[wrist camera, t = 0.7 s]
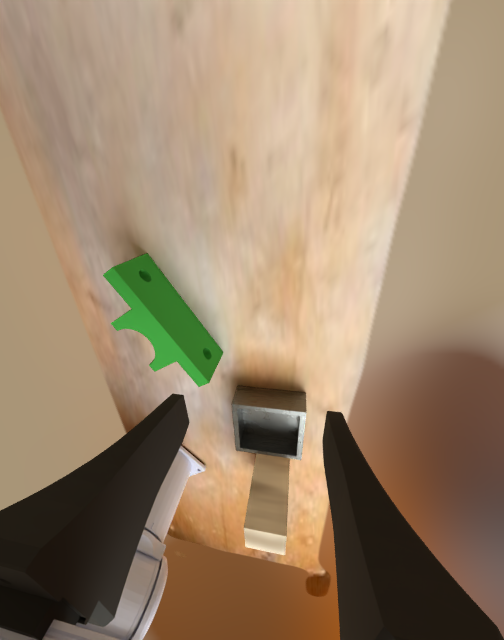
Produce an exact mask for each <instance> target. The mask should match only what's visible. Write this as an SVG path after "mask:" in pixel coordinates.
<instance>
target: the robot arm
mask: <svg viewBox="0 0 504 640" xmlns="http://www.w3.org/2000/svg"><path fill="white" fill-rule="evenodd" d="M188 425H189V418H188V414H187V409H186V405H185V400H184V395H179V394H172V395H171V396H170V397H168V398H167V399H166V400H165V401H164V402H163V403H162V404H160V405H159V406H158V407H157V408H156V409H155V410H154V411H153V412H152V413H150V414H149V415H148V416H147V417H146V418H145V419H144V420H142V421H141V422H140V423H139V424H138V425H137V426H135V427H134V428H133V429H132V430H131V431H129V432H128V433H127V434H126V435H124V436H123V437H122V438H121V439H119V440H118V441H117V442H116V443H114V444H113V445H112V446H110V447H109V448H108V449H106V450H105V451H104V452H102V453H100V454H99V455H98V456H96V457H95V458H93V459H92V460H90V461H89V462H87V463H86V464H84V465H82V466H81V467H79V468H78V469H76V470H74V471H73V472H71V473H70V474H68V475H66V476H65V477H63V478H62V479H60V480H58V481H56V482H54V483H53V484H51V485H49V486H47V487H46V488H44V489H42V490H40V491H38V492H37V493H34V494H33V495H31V496H29V497H27V498H25V499H23V500H21V501H19V502H17V503H15V504H13V505H11V506H9V507H7V508H5V509H3V510H1V511H0V640H143V638H144V636H145V634H146V632H147V630H148V628H149V626H150V624H151V622H152V620H153V617H154V615H155V613H156V610H157V608H158V605H159V602H160V599H161V597H162V593H163V590H164V587H165V583H166V579H167V574H168V567H167V559H166V557H165V556H163V553H164V550H165V548H166V545H164V544H163V542H164V539H165V537H166V534H167V532H168V529H169V526H170V524H171V521H172V519H173V516H174V514H175V511H176V508H177V506H178V503H179V501H180V498H181V496H182V493H183V491H184V488H185V485H186V483H187V480H188V478H189V476H192V475H194V474H197V473H200V472H203V471H205V469H206V467H205V465H203V464H202V463H201V462H200V461H199V460H197V459H196V458H195V457H194V456H193V455H191V454H190V453H189V452H188V451H187V450H186V449H184V448H183V447H182V446H181V444H182V442H183V439H184V437H185V434H186V431H187V428H188ZM323 458H324V468H325V475H326V481H327V488H328V494H329V501H330V508H331V514H332V521H333V530H334V543H335V557H336V572H337V586H338V587H337V588H338V604H339V622H340V640H504V639H503V637H502V635H501V633H500V631H499V629H498V627H497V626H496V625H495V624H494V623H493V622H492V620H491V619H490V618H489V617H488V616H487V615H486V614H485V613H484V612H483V611H482V610H481V609H480V607H478V605H477V604H476V603H475V602H474V601H473V600H472V599H471V598H470V596H469V595H468V594H467V593H466V592H465V591H464V590H463V589H462V587H461V586H460V585H459V584H458V583H457V582H456V581H455V580H454V578H453V577H452V576H451V575H450V574H449V573H448V571H447V570H446V569H445V568H444V567H443V566H442V564H441V563H440V562H439V561H438V560H437V559H436V557H435V556H434V555H433V554H432V552H431V551H430V550H429V549H428V547H427V546H426V545H425V544H424V542H423V541H422V540H421V539H420V537H419V536H418V535H417V534H416V532H415V531H414V530H413V529H412V527H411V526H410V525H409V523H408V522H407V521H406V519H405V518H404V517H403V516H402V514H401V513H400V511H399V510H398V509H397V507H396V506H395V504H394V503H393V502H392V500H391V499H390V497H389V496H388V495H387V493H386V492H385V490H384V488H383V487H382V485H381V484H380V482H379V481H378V479H377V478H376V476H375V474H374V473H373V471H372V470H371V468H370V466H369V465H368V463H367V461H366V459H365V458H364V456H363V454H362V452H361V451H360V449H359V447H358V445H357V443H356V442H355V440H354V438H353V436H352V434H351V432H350V430H349V427H348V425H347V423H346V421H345V419H344V416H343V414H342V413H341V412H332V411H327V415H326V421H325V428H324V434H323Z"/></svg>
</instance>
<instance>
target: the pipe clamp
mask: <svg viewBox="0 0 504 640" xmlns="http://www.w3.org/2000/svg"><path fill="white" fill-rule="evenodd" d="M103 276H104V277H105V278H106V279H107V281H108V282H109V283H110V284H111V285H112V286H113V288H114V289H115V290H116V291H117V292H118V293H119V295H120V296H121V297H122V298H123V299H124V300H125V302H126V303H127V304H128V305H129V306H130V307H131V310H129V311H128V312H127V313H125V314H124V315H122V316H121V317H119V318H118V319H116V320H115V321H114V322H112V323H111V324H112V325H113V327H114V328H115V329H116V330H117V331H118V330H121V329H132V330H135V331H138V332H140V333H141V334H143V335H144V336H145V337H147V338H148V339H149V341H150V342H151V343H152V345H153V347H154V350H155V359H154V360H153V361H152V362H151V363H150V365H149V366H150V367H151V368H152V369H153V370H154V371H157V370H159V369H161V368H163V367H165V366H167V365H170V364H172V363H174V362H176V361H177V362H178V363H179V364H180V365H181V367H182V368H183V369H184V370H185V371H186V372H187V374H188V375H189V376H190V377H191V378H192V379H193V381H194V382H195V383H196V384H197V385H198V386H199V387H200V386H202V385H205V384H207V383H209V382H210V380H211V378H212V375H213V373H214V371H215V369H216V367H217V365H218V363H219V361H220V359H221V357H222V354H223V351H222V350H221V349H220V347H219V346H218V345H217V343H216V342H215V341H214V339H213V338H212V337H211V336H210V334H209V333H208V332H207V330H206V329H205V328H204V326H203V325H202V324H201V323H200V321H199V320H198V319H197V317H196V316H195V315H194V313H193V312H192V311H191V309H190V308H189V307H188V306H187V304H186V303H185V302H184V300H183V299H182V298H181V296H180V295H179V294H178V293H177V291H176V290H175V289H174V287H173V286H172V285H171V283H170V282H169V281H168V280H167V278H166V277H165V276H164V274H163V273H162V272H161V270H160V269H159V268H158V266H157V265H156V264H155V263H154V261H153V260H152V259H151V257H150V256H149V255H148V253H146V254H144V255H142V256H139V257H137V258H134V259H132V260H129V261H127V262H124V263H122V264H119V265H117V266H114V267H112V268H111V269H110V270H108V271H107V272H106V273H105V274H104V275H103Z"/></svg>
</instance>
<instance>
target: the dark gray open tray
mask: <svg viewBox="0 0 504 640" xmlns="http://www.w3.org/2000/svg"><path fill="white" fill-rule="evenodd" d="M232 413H233V424H234V435H235V445H236V450H237V451H244V452H251V453H257V454H264V455H271V456H277V457H284V458H291V459H297V460H301V458H302V448H303V439H304V430H305V420H306V393H303V392H293V391H284V390H274V389H264V388H255V387H245V386H237V389H236V392H235V395H234V398H233V401H232Z"/></svg>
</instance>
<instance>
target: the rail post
mask: <svg viewBox="0 0 504 640" xmlns="http://www.w3.org/2000/svg"><path fill="white" fill-rule="evenodd" d="M289 464H290V458H284V457H277V456H271V455H264V454H257V453H256V458H255V464H254V470H253V476H252V482H251V488H250V494H249V500H248V506H247V512H246V518H245V524H244V535H245V546H246V547H249V548H253V549H258V550H262V551H267V552H272V553H276V554H281V555H285V550H286V537H287V513H288V489H289Z"/></svg>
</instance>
